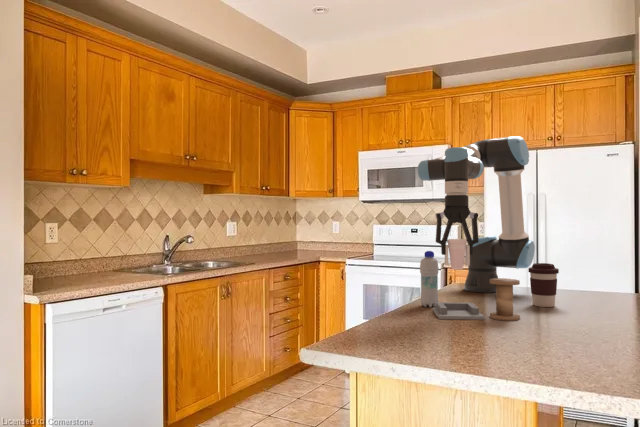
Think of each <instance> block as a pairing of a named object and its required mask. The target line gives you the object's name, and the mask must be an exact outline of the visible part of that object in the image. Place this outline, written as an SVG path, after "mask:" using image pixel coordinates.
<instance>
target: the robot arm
mask: <svg viewBox="0 0 640 427" xmlns="http://www.w3.org/2000/svg"><path fill="white" fill-rule="evenodd" d="M529 158H530V153H529V148H528V144H527V142H526V140H525V139H524V138H523V137H521V136H504V137H498V138H497V137H496V138H488V139H487V138H486V139H482V140H478V141H476V142H472V143H470V144H467V145H464V146H462V147H461V146H460V147H459V146H456V147H448V148H446V149H445V151H444V155H442V156H440V157H437V158H434V159H425V160H421V161H420V162H419V163H418V165H417V174H418V178H419V180H422V181H426V182H428V181H429V182H431V181H442V180H443V181H444V194H445V196H444V210H443V211H441V212H437V213H435V219H436V230H435V243H437V244H440V245H441V247H440V248H441V249H440V250H441V252H440V253H441V255H442V256H444V265H445V266H449V247H448V244H447V239H448V238H449V235H450V232H451V229H452V226H453V224H455V223H459V224H460V225H461V227H462V231H463V233H464V235H465V239H466V240H467V243H466V248H465V256H464V258H465V265H466V266H467V267H468V269H467V270H468V271H467V275H466V279H465V281H464V287H463V290H464V291H466V292H471V293H481V294H482V293H487V294H488V293H489V294H490V293H492V294H493V293H496V285H495V284H490V281H489V280H490V279H495V278H499V277H498V273H497V270H498V268H507V269H509V268H511V269H518V270H519V269H528V268H530V267H531V265H532V262H533V261H534V256H535V250H536V247H535V242H534V240H532V239H529V238H530V237H529V236H530V235H529V234H528V233H527V232H526V231H525V222H524V221H525V220H524V218H525V217H524V204H523V202H524V201H523V190H522V173H523V171H524V170H525V166H527V165H528V164H529V162H530V159H529ZM485 168H493V173H495V174H496V175H497V176H498V177H497V178H498V192H499V203H500V220H501V233H500V234H499V236H498V238H497V236H496V235H493V236H486V237H485V236H484V237H483V236H482V237H479V229H478V228H479V227H478V218H479V213H478V212H472V211H471V210H470V206H469V195H467V194H469V180H474V179H477V178H480V177H481V175H482V174H483V172H484V169H485ZM444 217H445V218H446V219H447V222H446V226H445V229H444V233H443V235H442V225H443V224H442V221H443V220H442V219H443V218H444ZM468 217H469V218H470V219H471V231H472V236H471V233H470V230H469V227H468V224H467V223H468V222H467V219H468ZM441 236H442V239H441Z"/></svg>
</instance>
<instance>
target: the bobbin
mask: <svg viewBox="0 0 640 427" xmlns="http://www.w3.org/2000/svg"><path fill="white" fill-rule="evenodd" d="M489 281H490V284H495V285H496V292H495V294H496V296H495V300H496V301H495V308H496V310H495V311H492V312H490V313H489V318H490V319H492V320H497V321H504V322H513V321H514V322H515V321H520V319H521V315H520V314H519V313H515V312H514V286H519V285H520V279H516V278H504V277H502V278H501V277H500V278H499V277H498V278H495V279H490V280H489Z"/></svg>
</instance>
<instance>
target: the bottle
mask: <svg viewBox="0 0 640 427" xmlns="http://www.w3.org/2000/svg"><path fill="white" fill-rule="evenodd" d="M434 257H435V253H434V251H432V250H426V251H425V252H424V258H421V260H420V264H419V273H420V305H421V306H422V307H424V308H427V306H428V307H429V308H436V302H439V290H438V289H439V286H438V285H439V284H438V283H439V278H438V277H439V276H438V275H439V263H438V259H436V258H434Z"/></svg>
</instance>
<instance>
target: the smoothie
mask: <svg viewBox="0 0 640 427" xmlns="http://www.w3.org/2000/svg"><path fill="white" fill-rule="evenodd" d="M446 244H447V245H448V256H449V262H450V268H451V269H450V270H463V269H464V266H465V265H464V264H465V263H464V262H465V248H466V245H467V244H468V243H467V240H466V238H465V239H464V238H460V226H459V225H458V226H457V238H450V239H447V242H446Z"/></svg>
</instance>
